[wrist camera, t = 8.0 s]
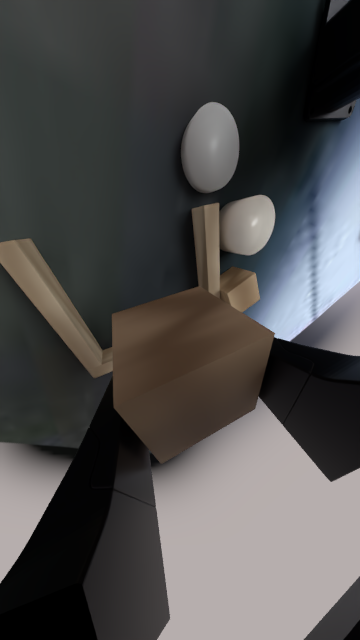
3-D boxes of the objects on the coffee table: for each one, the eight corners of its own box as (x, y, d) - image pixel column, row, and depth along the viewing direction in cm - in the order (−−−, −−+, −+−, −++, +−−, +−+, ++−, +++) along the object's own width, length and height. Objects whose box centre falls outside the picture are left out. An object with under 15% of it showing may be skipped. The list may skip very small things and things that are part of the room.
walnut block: (199, 286, 9) (274, 333, 5) (204, 347, 11) (255, 408, 8) (111, 313, 8) (113, 406, 4) (141, 374, 10) (161, 463, 6)
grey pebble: (229, 114, 13) (241, 102, 12) (227, 190, 16) (237, 187, 14) (175, 115, 12) (182, 102, 10) (184, 197, 14) (190, 194, 13)
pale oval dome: (251, 197, 17) (279, 191, 14) (247, 246, 19) (270, 249, 17) (212, 205, 15) (234, 199, 13) (214, 255, 18) (232, 260, 15)
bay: (204, 206, 15) (219, 202, 13) (210, 318, 23) (220, 327, 21) (8, 242, 11) (-14, 245, 9) (95, 363, 19) (94, 378, 17)
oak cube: (232, 266, 20) (255, 273, 17) (238, 289, 22) (260, 299, 19) (208, 283, 20) (227, 293, 17) (217, 304, 22) (235, 317, 19)
